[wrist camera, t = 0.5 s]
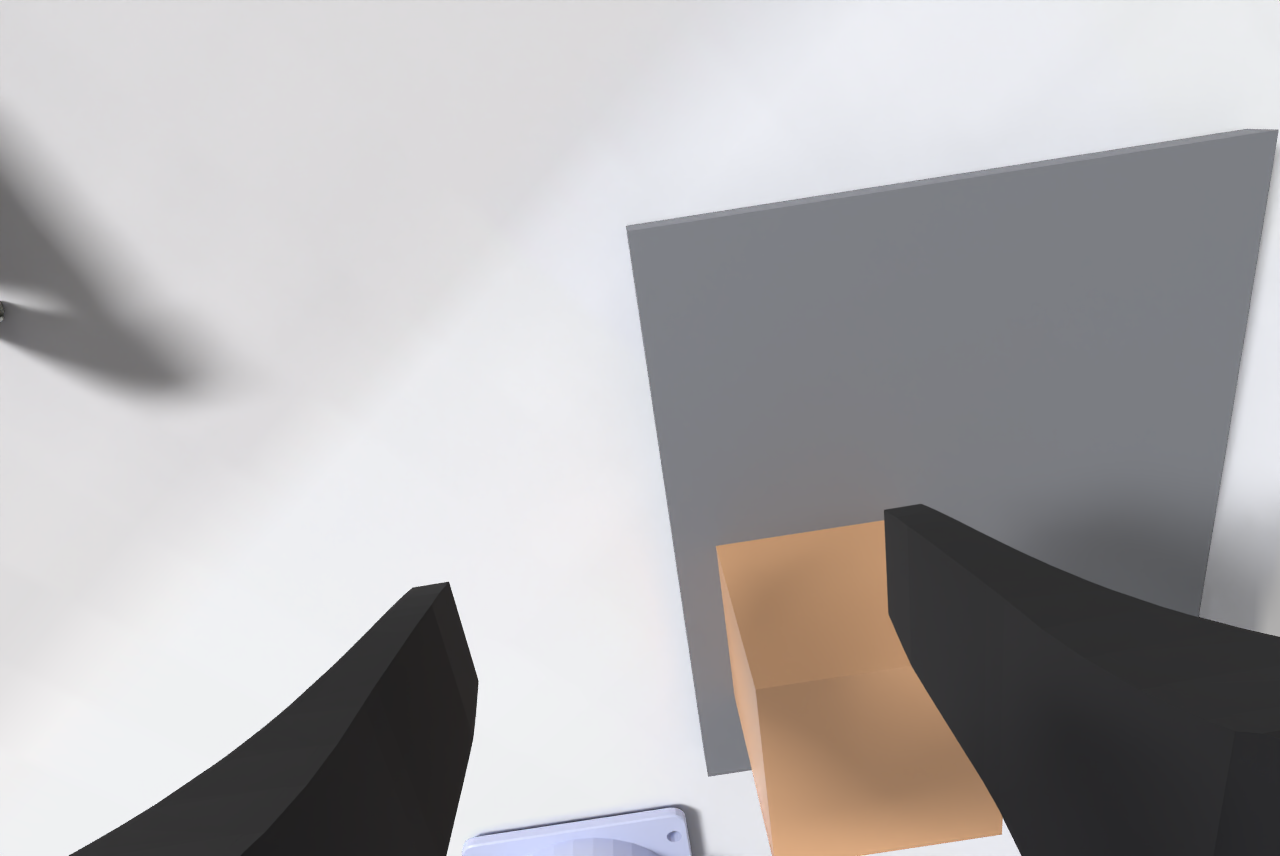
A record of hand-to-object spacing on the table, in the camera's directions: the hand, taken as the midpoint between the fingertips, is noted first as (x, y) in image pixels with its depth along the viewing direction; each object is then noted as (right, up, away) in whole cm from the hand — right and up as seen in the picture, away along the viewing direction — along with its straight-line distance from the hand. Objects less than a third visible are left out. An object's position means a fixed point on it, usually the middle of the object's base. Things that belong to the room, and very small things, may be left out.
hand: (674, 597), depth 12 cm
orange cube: (+5, -3, +11) cm, 12 cm away
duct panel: (+8, +1, +10) cm, 13 cm away
